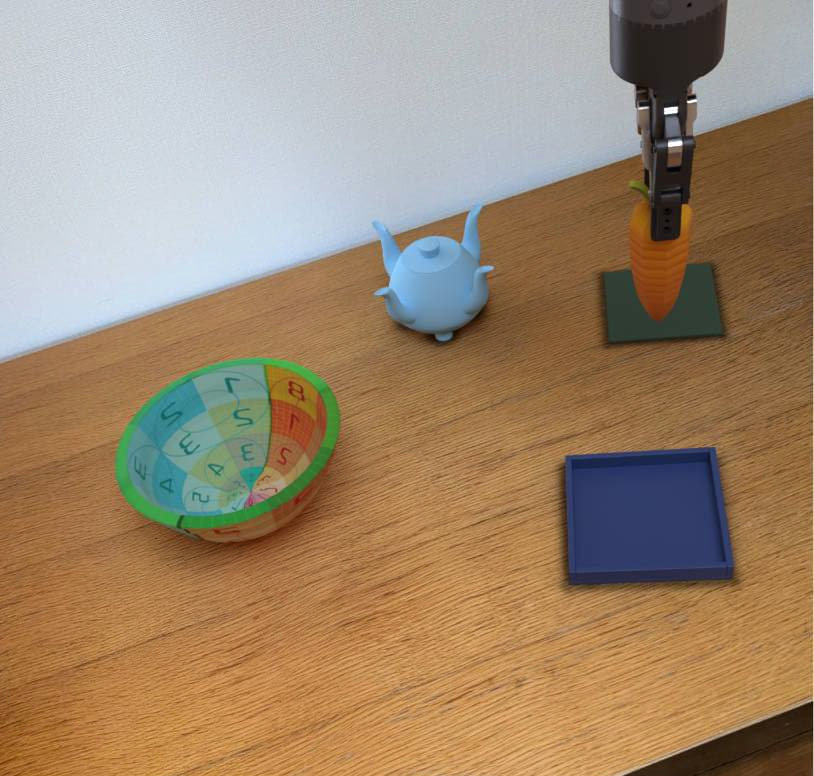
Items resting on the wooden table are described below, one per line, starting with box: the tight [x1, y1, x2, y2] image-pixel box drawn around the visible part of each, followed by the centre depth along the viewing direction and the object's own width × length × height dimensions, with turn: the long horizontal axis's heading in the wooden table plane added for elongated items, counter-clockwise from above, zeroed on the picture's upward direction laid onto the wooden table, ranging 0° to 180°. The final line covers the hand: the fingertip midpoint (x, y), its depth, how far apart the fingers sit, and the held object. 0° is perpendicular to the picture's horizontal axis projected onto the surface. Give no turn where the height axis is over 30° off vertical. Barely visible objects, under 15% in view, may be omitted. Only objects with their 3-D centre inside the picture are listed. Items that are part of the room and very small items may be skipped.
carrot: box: [628, 179, 694, 322], centre depth 79 cm, size 5×5×15 cm
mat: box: [603, 262, 724, 345], centre depth 111 cm, size 12×12×1 cm
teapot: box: [371, 202, 495, 342], centre depth 112 cm, size 13×13×10 cm
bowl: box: [114, 357, 341, 543], centre depth 99 cm, size 22×22×10 cm
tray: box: [564, 446, 735, 586], centre depth 92 cm, size 14×14×2 cm
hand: (661, 215), depth 77 cm, fingers closed on carrot, 5 cm apart
